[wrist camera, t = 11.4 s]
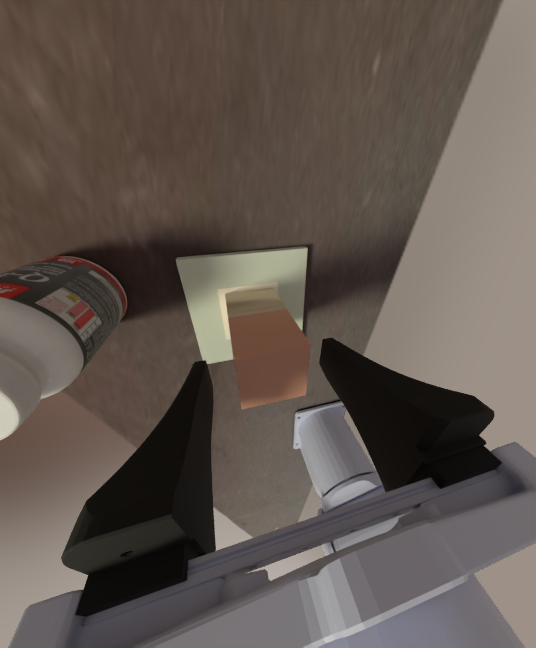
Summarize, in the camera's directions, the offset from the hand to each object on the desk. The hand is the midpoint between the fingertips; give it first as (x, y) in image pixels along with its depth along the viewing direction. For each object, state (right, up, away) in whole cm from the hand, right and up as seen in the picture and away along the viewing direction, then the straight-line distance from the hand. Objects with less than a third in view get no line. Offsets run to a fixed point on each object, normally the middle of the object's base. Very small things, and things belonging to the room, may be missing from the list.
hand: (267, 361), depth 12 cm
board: (-2, +4, +6) cm, 7 cm away
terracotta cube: (-1, +1, +2) cm, 3 cm away
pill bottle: (-14, +5, +3) cm, 15 cm away
